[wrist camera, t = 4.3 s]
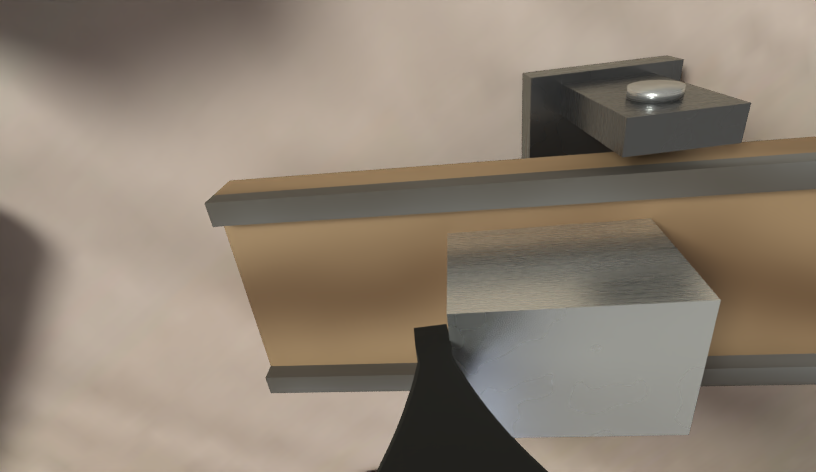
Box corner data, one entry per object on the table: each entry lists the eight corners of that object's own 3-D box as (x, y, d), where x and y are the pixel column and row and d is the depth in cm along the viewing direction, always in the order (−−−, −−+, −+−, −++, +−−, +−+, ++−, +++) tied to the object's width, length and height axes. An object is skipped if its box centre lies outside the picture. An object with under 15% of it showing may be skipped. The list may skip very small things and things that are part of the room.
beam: (998, 343, 16) (1081, 397, 14) (286, 361, 19) (266, 407, 17) (1154, 107, 12) (1300, 133, 10) (228, 177, 15) (194, 208, 13)
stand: (625, 327, 22) (699, 427, 17) (519, 339, 22) (561, 443, 17) (666, 55, 16) (795, 85, 11) (522, 73, 16) (586, 110, 11)
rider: (635, 333, 16) (688, 435, 12) (458, 341, 16) (460, 438, 13) (651, 218, 14) (721, 299, 10) (447, 233, 14) (446, 314, 11)
